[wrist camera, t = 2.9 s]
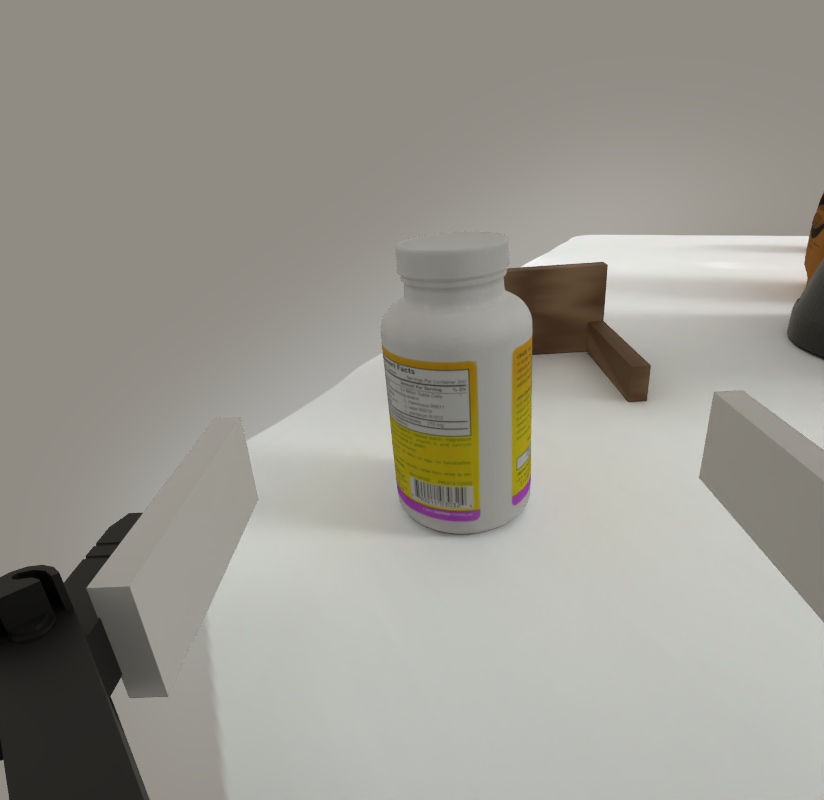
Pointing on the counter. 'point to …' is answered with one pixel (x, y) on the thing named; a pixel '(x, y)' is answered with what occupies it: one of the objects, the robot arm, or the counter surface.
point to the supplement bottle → (459, 383)
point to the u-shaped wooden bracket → (578, 320)
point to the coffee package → (815, 242)
